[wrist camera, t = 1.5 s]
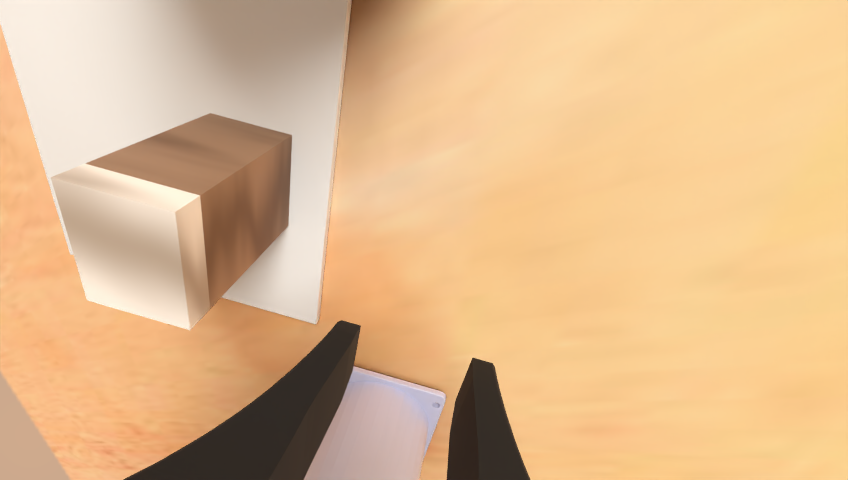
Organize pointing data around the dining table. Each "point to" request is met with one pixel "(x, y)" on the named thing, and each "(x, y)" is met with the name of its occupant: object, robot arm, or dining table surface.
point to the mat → (194, 100)
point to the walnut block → (176, 216)
